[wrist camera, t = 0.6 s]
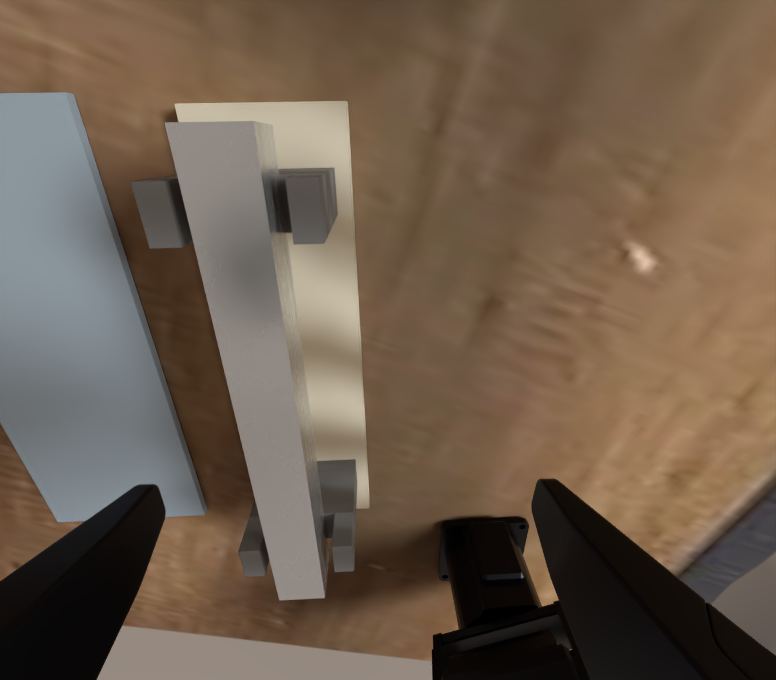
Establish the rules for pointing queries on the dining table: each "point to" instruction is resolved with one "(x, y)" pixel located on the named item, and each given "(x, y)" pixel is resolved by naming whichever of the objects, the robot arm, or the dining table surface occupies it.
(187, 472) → the mat
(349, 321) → the rail stand
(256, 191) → the rail
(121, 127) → the dining table surface
